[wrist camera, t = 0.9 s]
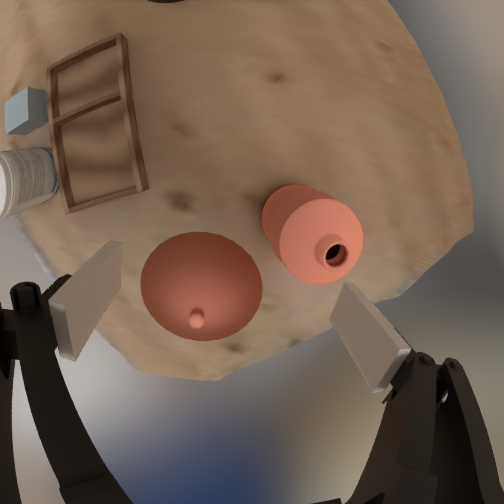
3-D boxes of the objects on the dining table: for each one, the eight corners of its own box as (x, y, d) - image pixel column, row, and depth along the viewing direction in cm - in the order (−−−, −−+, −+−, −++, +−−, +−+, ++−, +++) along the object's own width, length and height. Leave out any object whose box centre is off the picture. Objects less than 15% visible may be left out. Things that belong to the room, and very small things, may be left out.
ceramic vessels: (202, 357, 50) (199, 437, 32) (117, 288, 43) (73, 357, 25) (349, 240, 44) (413, 290, 27) (270, 140, 38) (309, 128, 20)
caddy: (56, 71, 28) (46, 67, 25) (127, 40, 29) (120, 32, 26) (75, 210, 37) (65, 214, 34) (148, 188, 38) (142, 191, 35)
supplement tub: (44, 136, 32) (-12, 137, 18) (72, 172, 35) (16, 184, 21) (18, 177, 34) (-35, 191, 20) (43, 213, 37) (-9, 238, 23)
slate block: (23, 105, 29) (4, 103, 23) (46, 91, 29) (27, 86, 24) (25, 134, 31) (5, 134, 26) (48, 121, 31) (28, 119, 26)
